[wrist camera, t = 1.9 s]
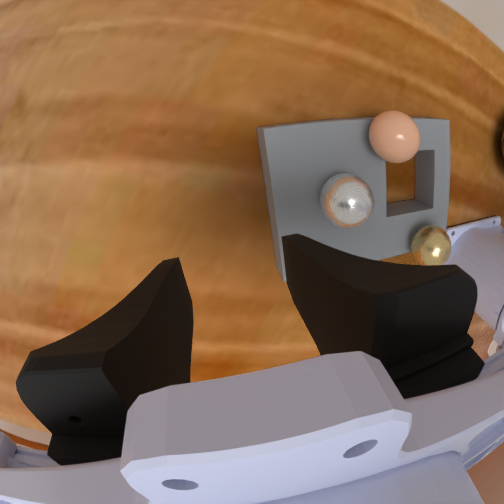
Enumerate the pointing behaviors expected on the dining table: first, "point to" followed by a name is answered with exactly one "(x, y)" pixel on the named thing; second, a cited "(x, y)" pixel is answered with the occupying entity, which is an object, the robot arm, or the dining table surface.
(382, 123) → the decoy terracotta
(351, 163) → the grey tray with hole
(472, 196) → the dining table surface
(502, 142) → the decorative egg
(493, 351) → the foam cup
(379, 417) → the robot arm
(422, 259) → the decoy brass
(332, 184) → the steel ball
